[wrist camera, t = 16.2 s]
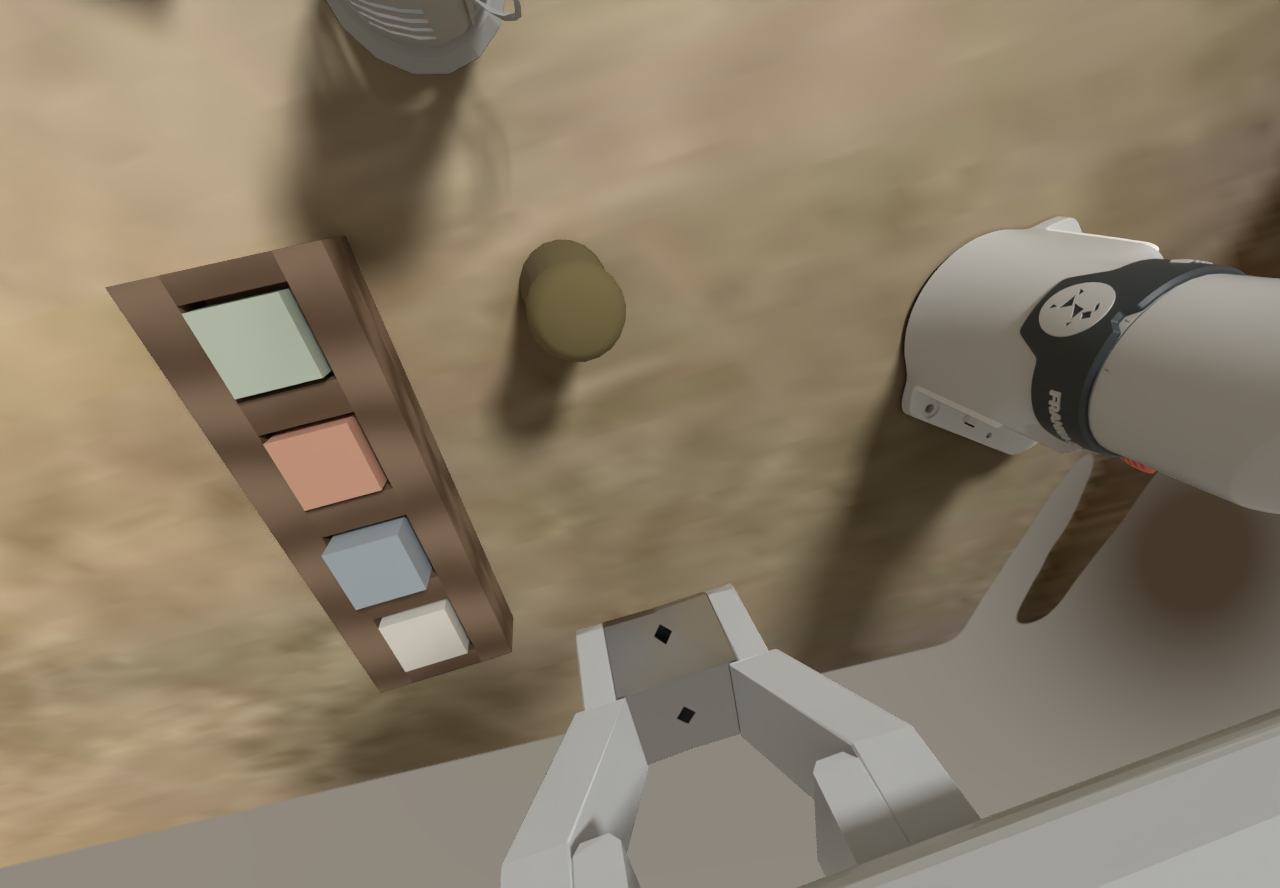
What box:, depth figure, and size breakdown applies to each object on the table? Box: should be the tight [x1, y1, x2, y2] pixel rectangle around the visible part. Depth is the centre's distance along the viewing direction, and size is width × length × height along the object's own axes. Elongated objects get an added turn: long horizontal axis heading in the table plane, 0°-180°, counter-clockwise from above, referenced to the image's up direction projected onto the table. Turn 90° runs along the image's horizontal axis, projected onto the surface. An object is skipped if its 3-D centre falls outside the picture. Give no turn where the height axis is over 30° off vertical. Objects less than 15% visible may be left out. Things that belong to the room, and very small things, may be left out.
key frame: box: [106, 236, 513, 692], centre depth 36 cm, size 33×11×4 cm, turn 11°
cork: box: [520, 240, 626, 362], centre depth 29 cm, size 6×6×11 cm
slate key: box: [322, 515, 432, 610], centre depth 35 cm, size 5×5×2 cm
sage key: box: [182, 287, 332, 399], centre depth 29 cm, size 5×5×2 cm
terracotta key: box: [263, 412, 388, 511], centre depth 33 cm, size 5×5×2 cm
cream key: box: [378, 598, 469, 672], centre depth 40 cm, size 5×5×2 cm
